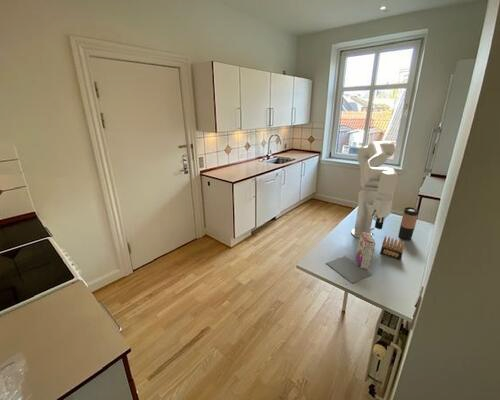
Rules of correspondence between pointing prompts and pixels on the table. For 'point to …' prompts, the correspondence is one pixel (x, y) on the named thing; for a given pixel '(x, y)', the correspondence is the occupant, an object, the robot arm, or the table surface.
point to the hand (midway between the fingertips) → (378, 228)
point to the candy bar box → (365, 250)
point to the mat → (349, 269)
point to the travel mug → (408, 223)
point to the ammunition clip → (392, 249)
